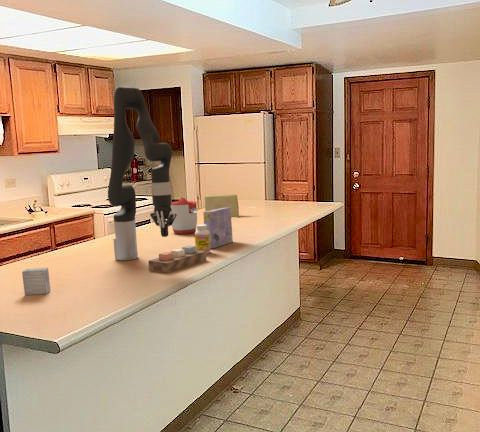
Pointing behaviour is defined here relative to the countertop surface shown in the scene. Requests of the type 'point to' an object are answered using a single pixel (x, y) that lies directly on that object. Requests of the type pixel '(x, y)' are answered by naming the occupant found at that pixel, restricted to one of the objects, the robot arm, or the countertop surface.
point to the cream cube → (178, 252)
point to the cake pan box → (219, 226)
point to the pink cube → (165, 256)
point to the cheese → (222, 203)
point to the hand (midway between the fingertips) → (164, 236)
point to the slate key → (189, 249)
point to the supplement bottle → (202, 238)
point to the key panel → (177, 262)
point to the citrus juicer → (184, 216)
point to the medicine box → (36, 281)
